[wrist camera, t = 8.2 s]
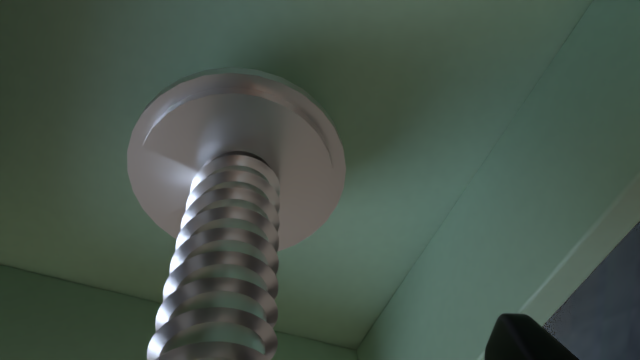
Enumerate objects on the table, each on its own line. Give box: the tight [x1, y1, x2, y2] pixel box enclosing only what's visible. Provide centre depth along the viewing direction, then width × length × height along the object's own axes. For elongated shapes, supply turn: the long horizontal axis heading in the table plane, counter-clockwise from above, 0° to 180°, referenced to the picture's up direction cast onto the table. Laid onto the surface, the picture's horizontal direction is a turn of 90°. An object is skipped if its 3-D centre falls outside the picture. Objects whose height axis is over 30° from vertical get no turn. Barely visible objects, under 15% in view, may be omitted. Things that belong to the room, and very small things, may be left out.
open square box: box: [0, 0, 640, 360], centre depth 12 cm, size 16×15×5 cm
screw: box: [127, 67, 346, 360], centre depth 8 cm, size 13×5×5 cm
